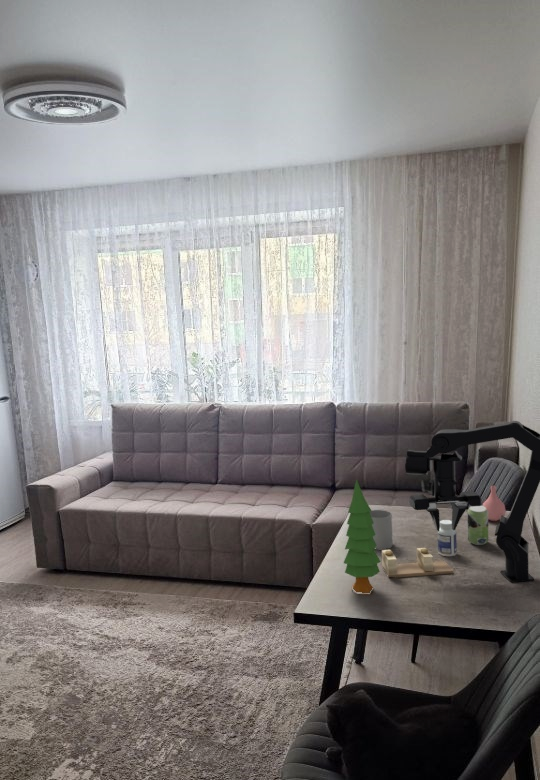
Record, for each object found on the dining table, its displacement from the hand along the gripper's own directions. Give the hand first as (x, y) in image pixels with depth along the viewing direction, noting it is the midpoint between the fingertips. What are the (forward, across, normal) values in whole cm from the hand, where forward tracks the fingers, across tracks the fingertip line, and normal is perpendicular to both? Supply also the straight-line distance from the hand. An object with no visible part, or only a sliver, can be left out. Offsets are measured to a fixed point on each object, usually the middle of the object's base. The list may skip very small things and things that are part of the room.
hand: (445, 530), depth 159 cm
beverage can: (+11, -16, -16) cm, 26 cm away
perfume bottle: (+11, -30, -36) cm, 49 cm away
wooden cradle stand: (+11, +8, 0) cm, 14 cm away
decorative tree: (+11, +26, +9) cm, 30 cm away
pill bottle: (+11, -4, -10) cm, 16 cm away
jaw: (+10, +6, 0) cm, 12 cm away
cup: (+11, +14, -22) cm, 28 cm away
